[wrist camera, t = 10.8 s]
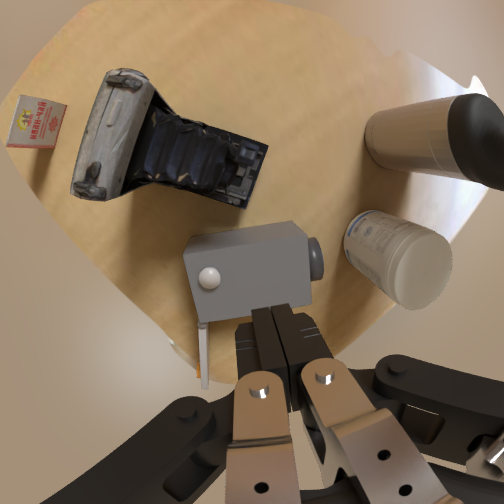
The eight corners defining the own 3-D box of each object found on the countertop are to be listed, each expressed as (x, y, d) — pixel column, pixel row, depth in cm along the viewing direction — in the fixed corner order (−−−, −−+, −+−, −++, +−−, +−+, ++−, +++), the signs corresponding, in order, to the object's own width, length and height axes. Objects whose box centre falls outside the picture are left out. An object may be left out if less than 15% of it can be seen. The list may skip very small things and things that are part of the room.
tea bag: (39, 145, 30) (-2, 145, 20) (51, 103, 28) (12, 94, 18) (54, 148, 30) (13, 148, 21) (67, 105, 28) (28, 94, 19)
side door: (209, 363, 43) (208, 390, 37) (198, 363, 43) (196, 389, 37) (209, 298, 39) (206, 321, 33) (196, 297, 39) (191, 321, 33)
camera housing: (307, 218, 37) (328, 233, 30) (311, 278, 40) (330, 304, 33) (190, 237, 37) (181, 257, 29) (204, 296, 40) (199, 328, 32)
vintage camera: (240, 210, 37) (269, 259, 18) (133, 177, 33) (55, 194, 14) (264, 143, 34) (320, 120, 16) (155, 109, 31) (98, 58, 12)
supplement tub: (390, 264, 41) (445, 304, 27) (340, 272, 41) (388, 321, 27) (394, 206, 38) (458, 229, 24) (341, 209, 37) (398, 236, 24)
